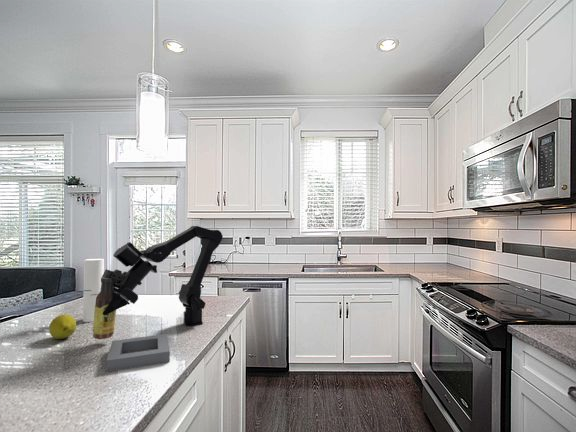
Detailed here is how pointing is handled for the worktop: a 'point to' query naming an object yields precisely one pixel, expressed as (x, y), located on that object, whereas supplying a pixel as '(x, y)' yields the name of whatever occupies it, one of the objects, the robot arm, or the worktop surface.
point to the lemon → (62, 326)
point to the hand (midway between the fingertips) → (100, 312)
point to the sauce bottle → (103, 323)
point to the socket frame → (138, 358)
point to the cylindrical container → (91, 286)
